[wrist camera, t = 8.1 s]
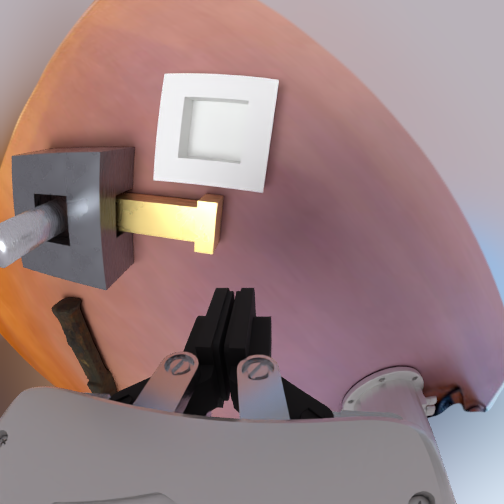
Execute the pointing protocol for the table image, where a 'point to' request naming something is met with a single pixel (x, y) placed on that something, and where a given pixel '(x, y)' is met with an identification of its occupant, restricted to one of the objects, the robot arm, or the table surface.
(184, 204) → the key
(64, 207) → the grey cylindrical peg
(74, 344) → the hand tool
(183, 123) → the tray
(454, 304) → the table surface
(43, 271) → the socket
